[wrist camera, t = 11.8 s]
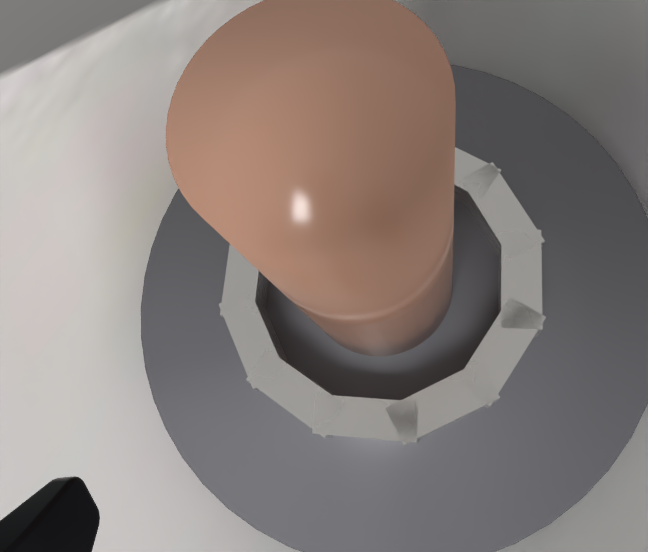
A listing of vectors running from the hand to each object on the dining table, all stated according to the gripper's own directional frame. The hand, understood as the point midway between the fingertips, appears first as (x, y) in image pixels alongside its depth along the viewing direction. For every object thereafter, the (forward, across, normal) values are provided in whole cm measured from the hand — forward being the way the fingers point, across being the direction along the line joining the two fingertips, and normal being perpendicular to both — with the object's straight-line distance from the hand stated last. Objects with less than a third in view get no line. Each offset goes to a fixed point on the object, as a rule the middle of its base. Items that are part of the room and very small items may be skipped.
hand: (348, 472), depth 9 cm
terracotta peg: (+11, 0, +3) cm, 12 cm away
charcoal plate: (+12, 0, +3) cm, 12 cm away
